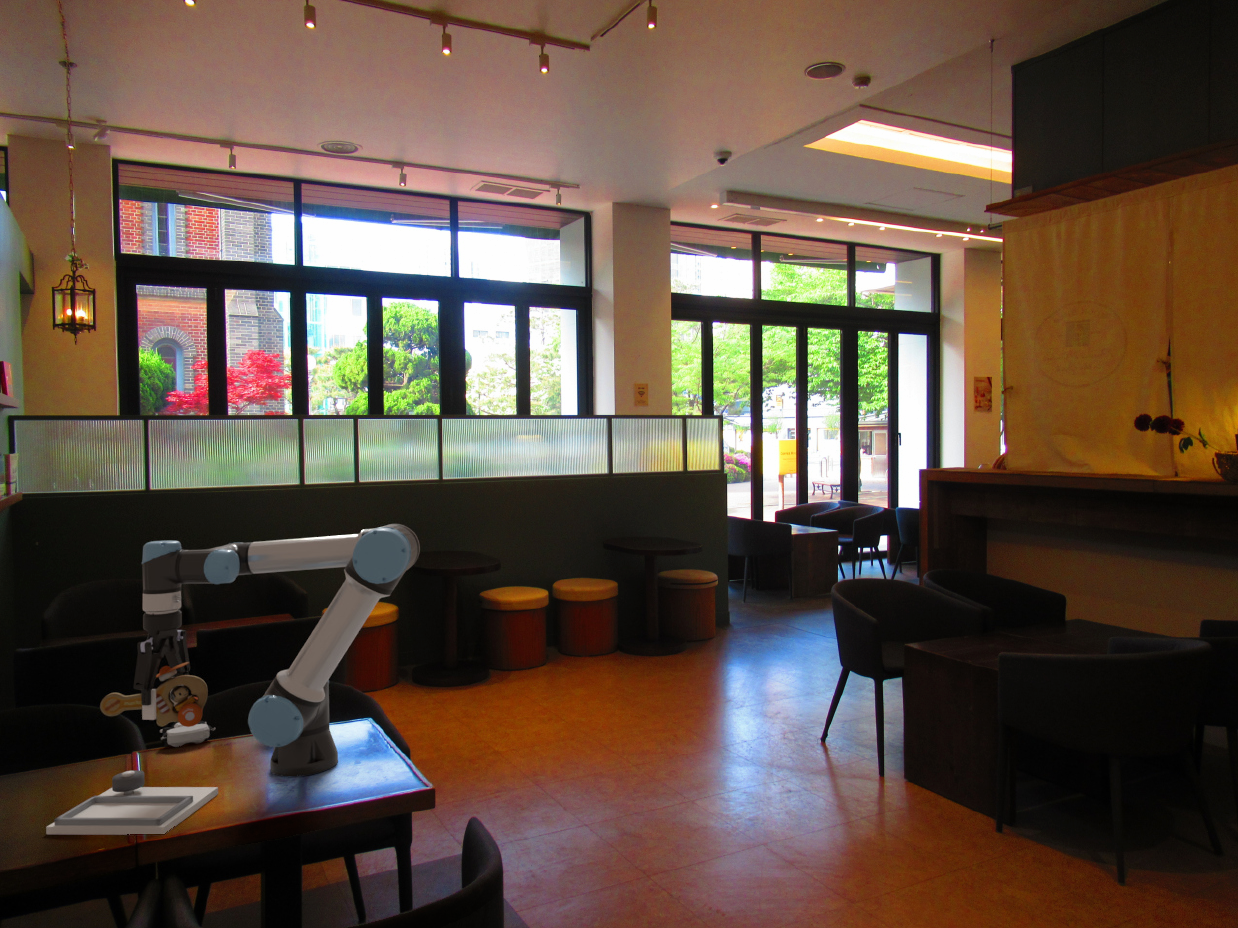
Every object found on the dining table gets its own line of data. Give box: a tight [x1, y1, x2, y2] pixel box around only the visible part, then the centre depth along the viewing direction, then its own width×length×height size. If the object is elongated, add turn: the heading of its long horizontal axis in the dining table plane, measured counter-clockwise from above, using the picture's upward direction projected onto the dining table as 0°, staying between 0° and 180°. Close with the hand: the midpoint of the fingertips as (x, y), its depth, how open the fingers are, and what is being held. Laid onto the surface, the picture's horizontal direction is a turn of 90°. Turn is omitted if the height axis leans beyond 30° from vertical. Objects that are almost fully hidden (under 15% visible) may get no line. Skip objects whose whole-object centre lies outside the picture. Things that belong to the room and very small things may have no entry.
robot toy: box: [159, 720, 216, 748], centre depth 221 cm, size 12×4×15 cm
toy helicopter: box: [99, 661, 209, 727], centre depth 185 cm, size 8×21×14 cm, turn 114°
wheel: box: [111, 769, 145, 792], centre depth 182 cm, size 6×6×3 cm
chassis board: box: [45, 786, 219, 836], centre depth 175 cm, size 24×20×3 cm
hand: (163, 712), depth 186 cm, fingers closed on toy helicopter, 9 cm apart
